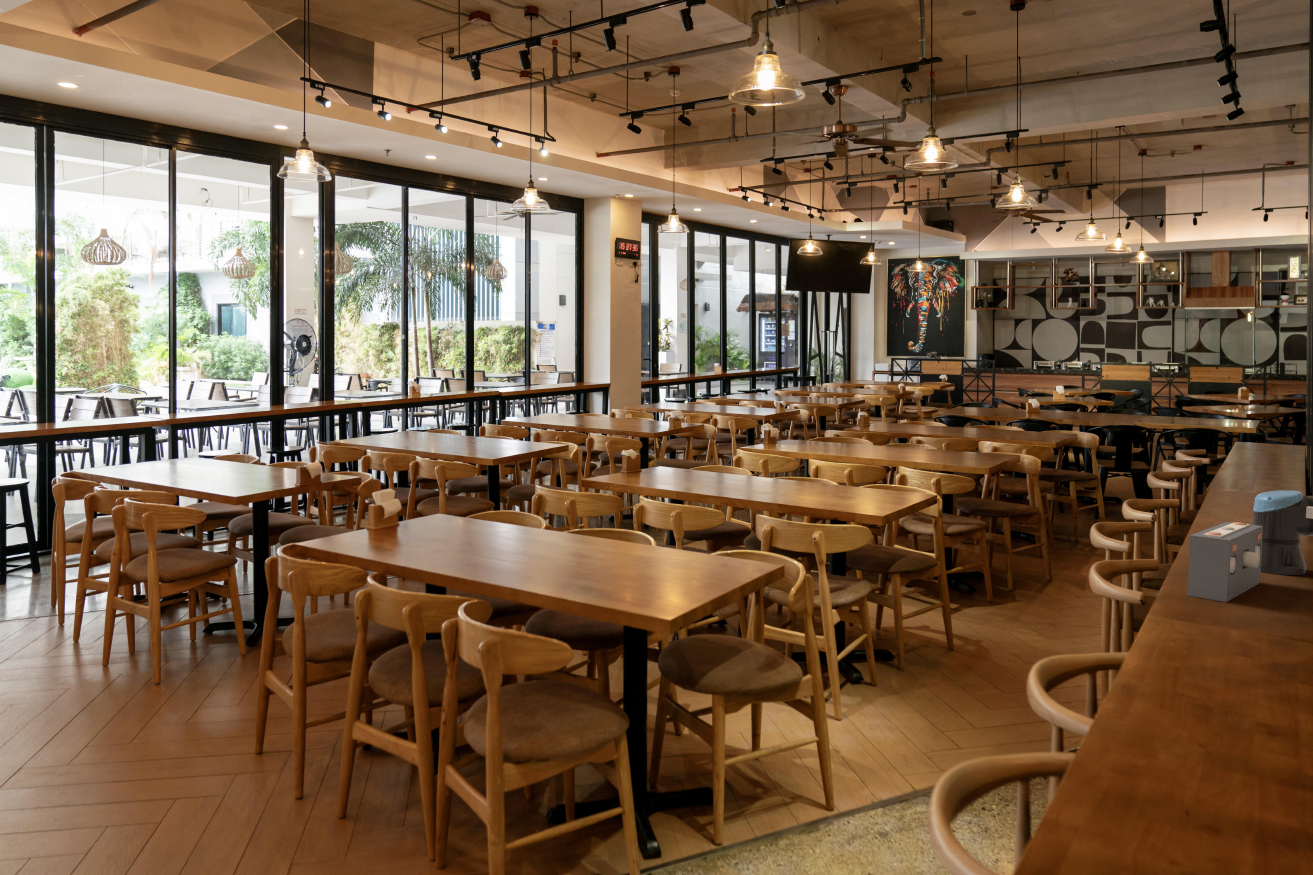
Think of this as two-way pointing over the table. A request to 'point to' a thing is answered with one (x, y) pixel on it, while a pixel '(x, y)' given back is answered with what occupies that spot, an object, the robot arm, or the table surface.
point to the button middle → (1251, 559)
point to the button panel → (1223, 561)
